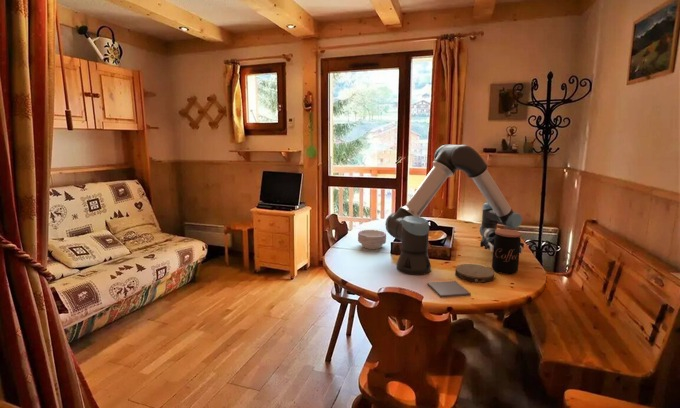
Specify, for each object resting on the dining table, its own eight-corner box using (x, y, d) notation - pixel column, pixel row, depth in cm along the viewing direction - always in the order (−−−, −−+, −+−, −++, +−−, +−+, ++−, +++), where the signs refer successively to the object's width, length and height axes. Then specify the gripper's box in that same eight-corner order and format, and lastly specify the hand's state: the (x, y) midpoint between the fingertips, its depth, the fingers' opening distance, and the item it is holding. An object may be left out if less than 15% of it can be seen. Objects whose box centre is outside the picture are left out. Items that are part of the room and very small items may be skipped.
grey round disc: (452, 269, 164) (452, 262, 164) (489, 271, 162) (489, 265, 161) (458, 282, 149) (458, 275, 148) (498, 285, 146) (499, 278, 146)
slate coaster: (440, 297, 134) (440, 295, 133) (427, 285, 145) (427, 282, 145) (470, 295, 136) (470, 293, 135) (455, 283, 147) (455, 280, 147)
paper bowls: (391, 249, 192) (391, 235, 190) (365, 252, 186) (365, 237, 185) (377, 241, 206) (378, 228, 204) (353, 244, 200) (353, 230, 199)
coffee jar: (490, 272, 160) (493, 233, 156) (492, 265, 169) (495, 227, 166) (516, 276, 155) (521, 236, 152) (517, 268, 164) (521, 230, 161)
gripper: (518, 245, 179) (535, 259, 158) (468, 243, 182) (478, 256, 161) (519, 230, 178) (536, 243, 157) (469, 228, 181) (479, 240, 160)
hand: (507, 250), depth 159 cm, fingers open, 12 cm apart
